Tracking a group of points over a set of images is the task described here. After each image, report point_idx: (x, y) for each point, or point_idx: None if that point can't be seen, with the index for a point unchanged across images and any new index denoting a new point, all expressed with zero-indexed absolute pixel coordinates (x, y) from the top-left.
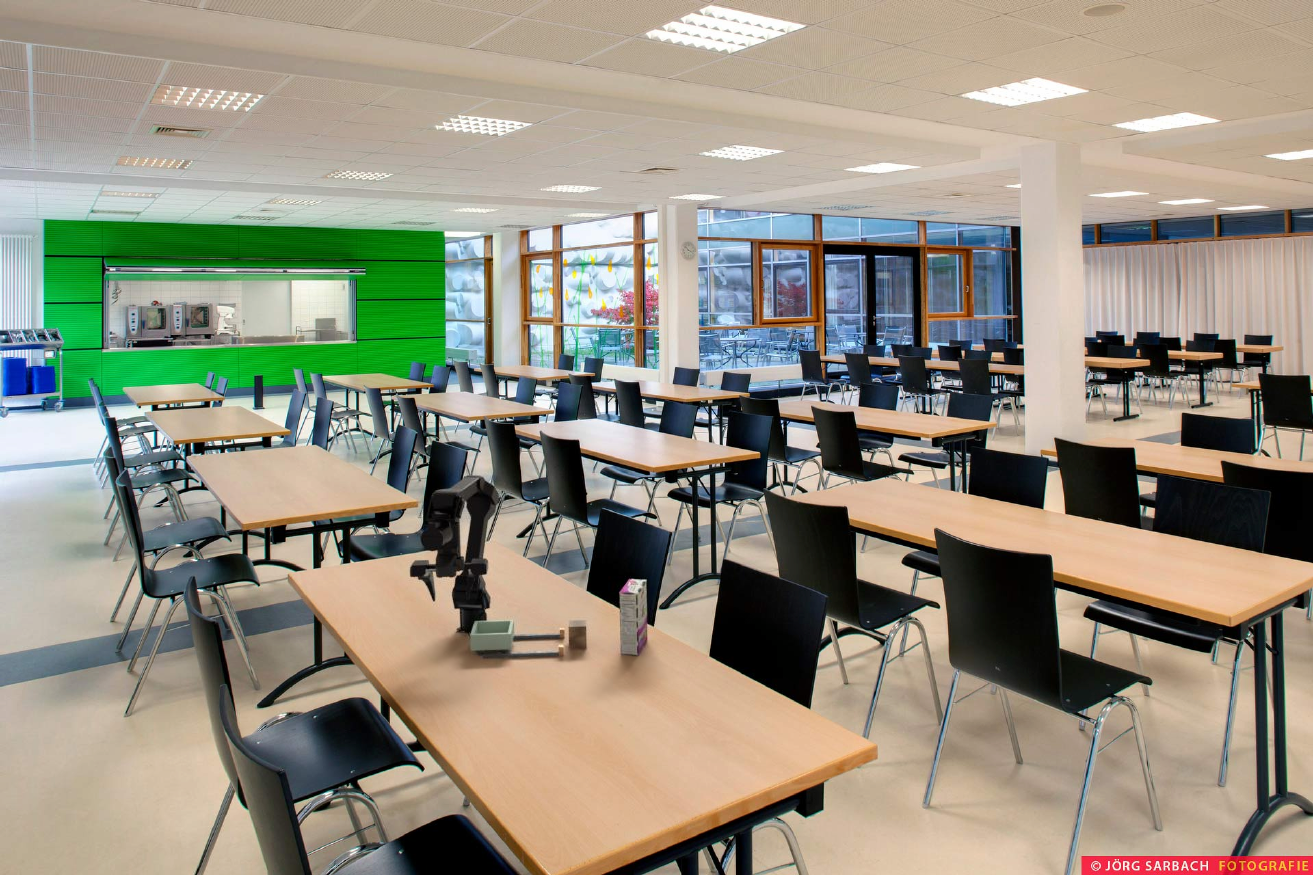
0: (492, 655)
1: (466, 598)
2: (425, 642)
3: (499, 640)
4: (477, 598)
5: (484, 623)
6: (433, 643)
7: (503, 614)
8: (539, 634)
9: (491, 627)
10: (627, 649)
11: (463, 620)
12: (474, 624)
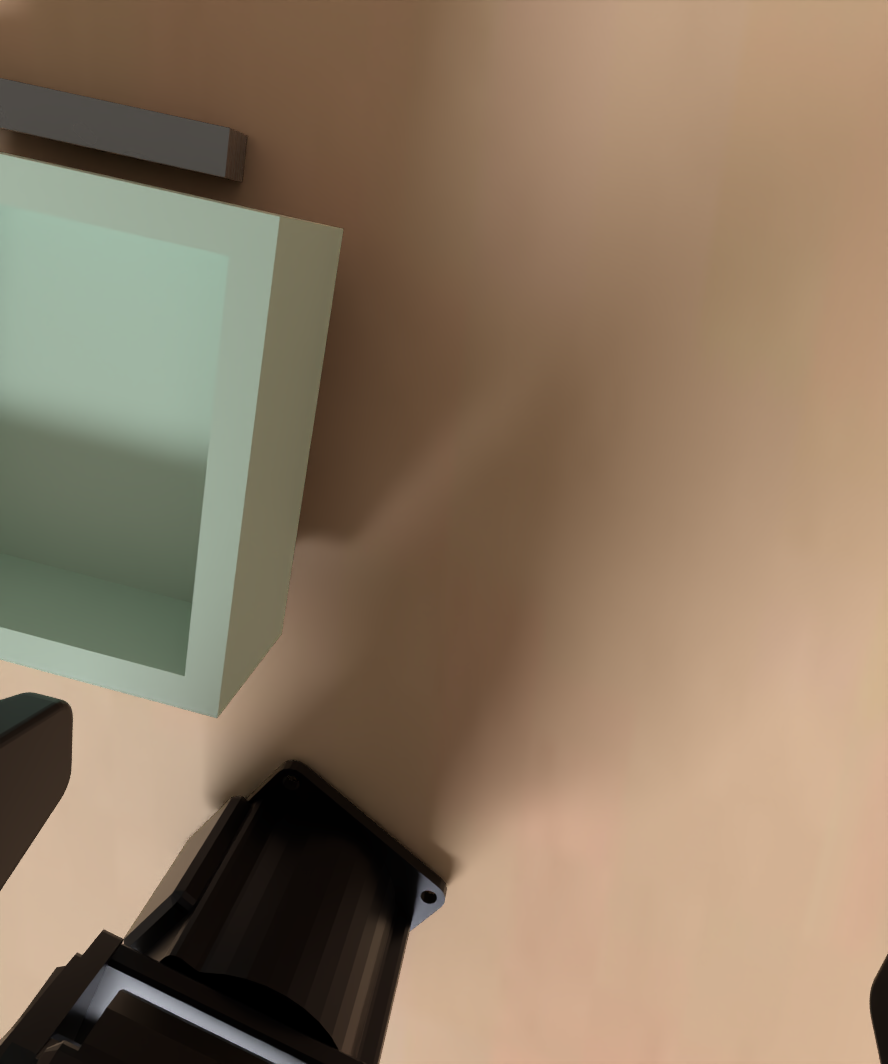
0: (130, 107)
1: (30, 715)
2: (753, 745)
3: None
4: (53, 1047)
5: (118, 643)
6: (683, 697)
7: None
8: None
9: (74, 604)
10: None
11: (364, 932)
12: (222, 610)
